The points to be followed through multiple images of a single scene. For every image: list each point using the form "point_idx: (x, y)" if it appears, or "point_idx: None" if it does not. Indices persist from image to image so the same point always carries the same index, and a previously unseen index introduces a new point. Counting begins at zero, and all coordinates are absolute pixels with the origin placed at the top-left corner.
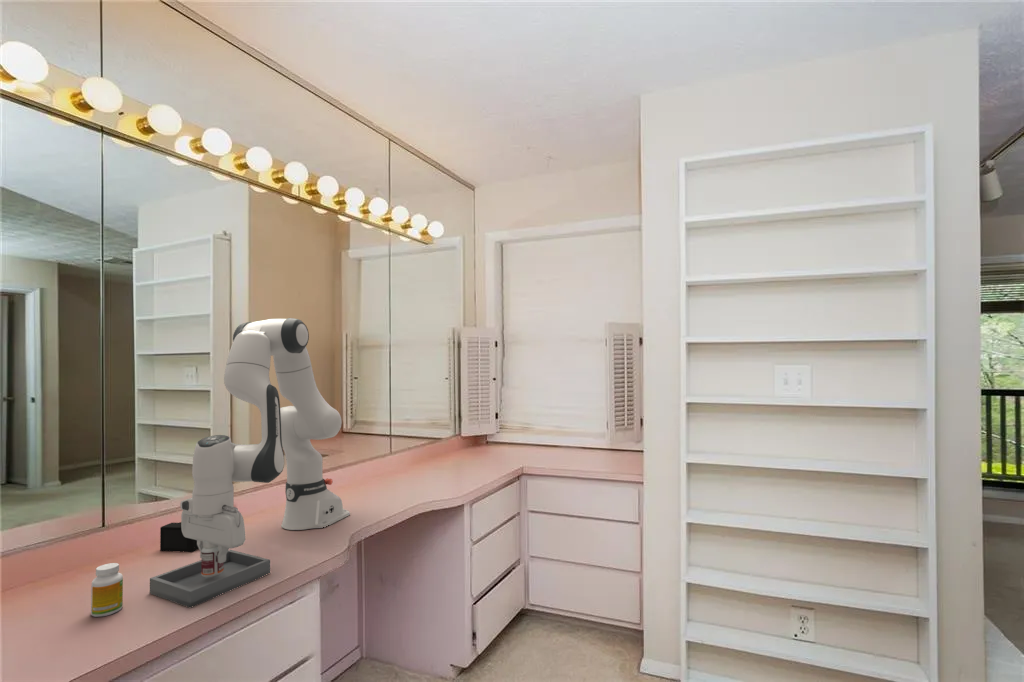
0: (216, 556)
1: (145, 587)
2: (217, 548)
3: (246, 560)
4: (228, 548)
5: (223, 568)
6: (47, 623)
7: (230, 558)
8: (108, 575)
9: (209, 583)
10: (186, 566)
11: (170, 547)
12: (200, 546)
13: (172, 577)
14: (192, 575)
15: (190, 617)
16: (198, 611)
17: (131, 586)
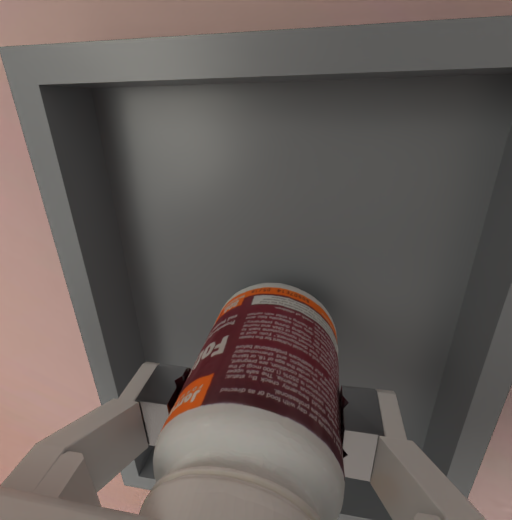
0: (355, 474)
1: (84, 402)
2: (330, 517)
3: (277, 78)
4: (474, 515)
5: (317, 309)
6: None
7: (88, 86)
8: None
9: (463, 482)
10: (108, 372)
11: None
12: (104, 478)
13: None
14: (145, 319)
15: (502, 512)
16: (492, 482)
17: (38, 407)
